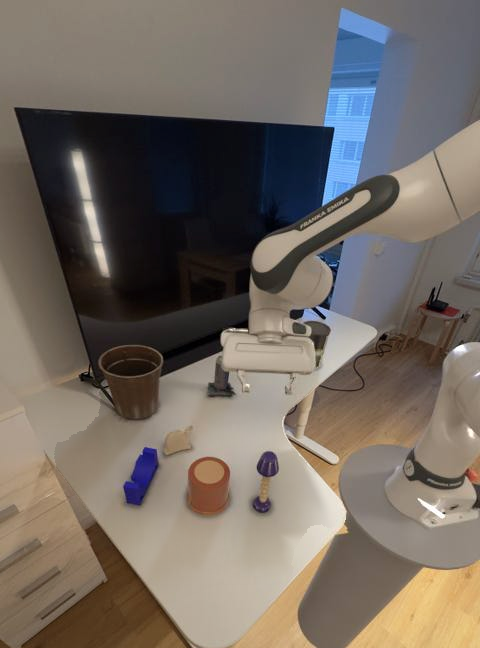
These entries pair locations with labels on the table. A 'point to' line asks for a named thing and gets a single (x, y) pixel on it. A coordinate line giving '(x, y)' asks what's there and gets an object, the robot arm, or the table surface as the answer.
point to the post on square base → (220, 382)
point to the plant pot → (133, 379)
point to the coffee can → (318, 338)
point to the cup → (208, 485)
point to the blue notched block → (141, 476)
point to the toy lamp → (265, 480)
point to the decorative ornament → (177, 441)
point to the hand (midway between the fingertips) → (267, 393)
